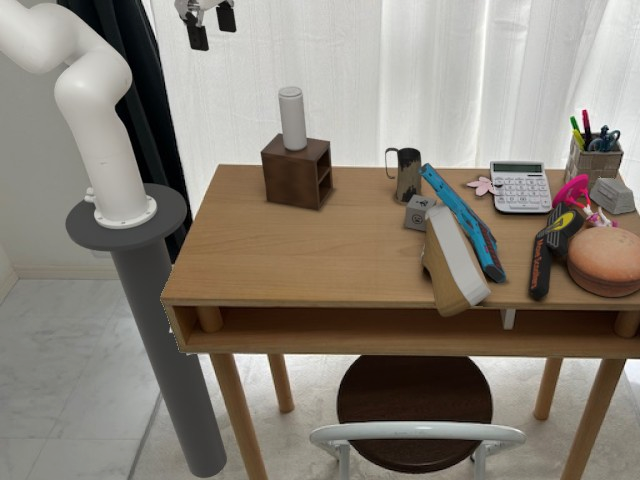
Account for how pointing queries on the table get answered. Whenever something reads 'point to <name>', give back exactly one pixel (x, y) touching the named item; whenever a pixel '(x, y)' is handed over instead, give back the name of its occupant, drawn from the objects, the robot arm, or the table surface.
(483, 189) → the flower
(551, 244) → the decorative sign
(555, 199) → the figurine
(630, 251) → the round sponge cake
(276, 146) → the divided wooden organizer
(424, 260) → the sneaker
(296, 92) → the beverage can
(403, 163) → the mug
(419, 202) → the dice cube
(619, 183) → the mineral specimen
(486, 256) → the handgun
